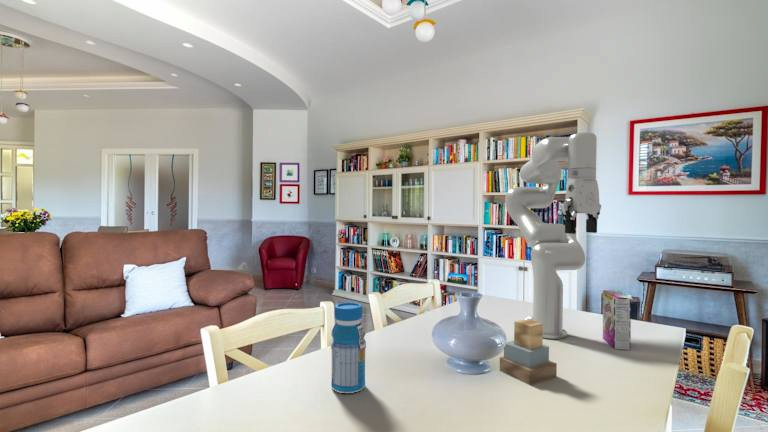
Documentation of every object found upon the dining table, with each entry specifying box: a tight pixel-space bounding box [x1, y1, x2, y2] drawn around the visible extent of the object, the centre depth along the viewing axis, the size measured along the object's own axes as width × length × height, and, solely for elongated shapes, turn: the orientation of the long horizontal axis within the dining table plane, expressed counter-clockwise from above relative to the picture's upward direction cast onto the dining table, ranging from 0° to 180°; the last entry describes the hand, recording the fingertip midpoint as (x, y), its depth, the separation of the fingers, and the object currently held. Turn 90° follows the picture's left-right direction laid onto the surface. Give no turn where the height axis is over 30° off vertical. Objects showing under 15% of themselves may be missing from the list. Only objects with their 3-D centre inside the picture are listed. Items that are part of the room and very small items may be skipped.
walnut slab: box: [499, 356, 558, 386], centre depth 106 cm, size 10×10×4 cm
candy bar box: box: [602, 289, 632, 351], centre depth 129 cm, size 11×5×16 cm, turn 168°
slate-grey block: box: [503, 340, 550, 368], centre depth 107 cm, size 8×8×4 cm
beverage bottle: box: [330, 301, 367, 394], centre depth 97 cm, size 8×8×20 cm
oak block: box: [513, 318, 544, 350], centre depth 106 cm, size 5×5×6 cm
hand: (581, 232), depth 120 cm, fingers open, 9 cm apart
